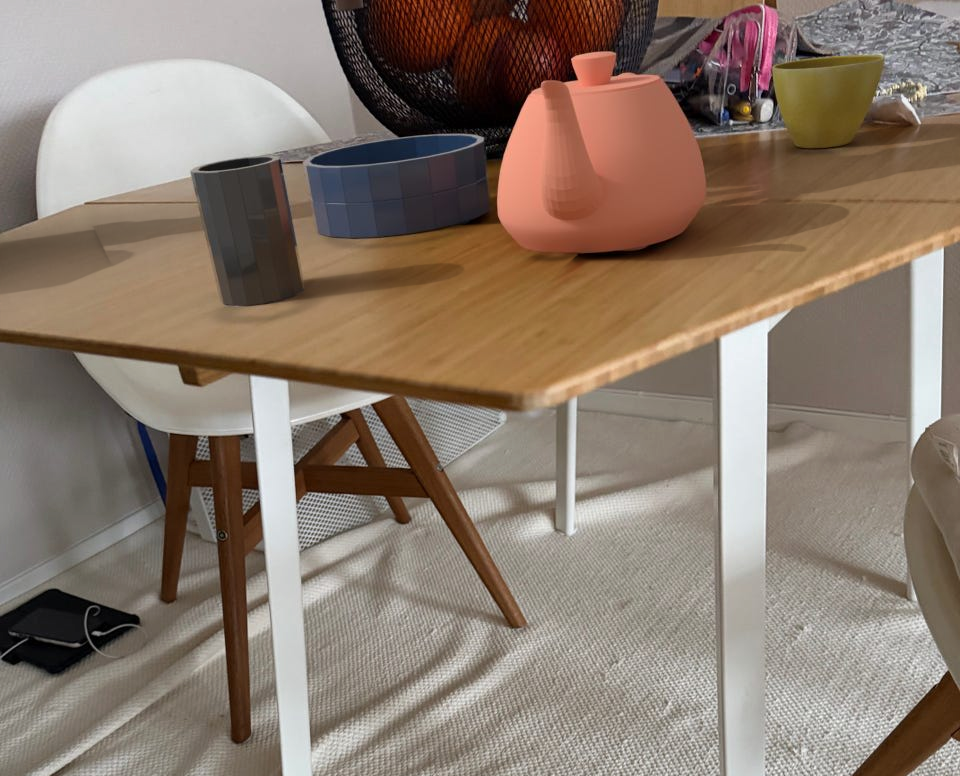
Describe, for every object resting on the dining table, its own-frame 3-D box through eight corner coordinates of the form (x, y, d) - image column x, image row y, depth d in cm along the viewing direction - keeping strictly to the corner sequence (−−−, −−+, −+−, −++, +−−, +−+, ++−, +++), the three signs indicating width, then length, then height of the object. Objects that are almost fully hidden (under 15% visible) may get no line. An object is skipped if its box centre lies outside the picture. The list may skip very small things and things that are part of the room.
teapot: (672, 278, 69) (668, 61, 63) (452, 284, 74) (428, 84, 68) (727, 205, 86) (728, 28, 80) (545, 213, 92) (533, 48, 85)
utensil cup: (206, 315, 75) (173, 174, 70) (250, 291, 79) (221, 158, 74) (280, 314, 73) (250, 169, 68) (320, 290, 77) (295, 153, 72)
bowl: (285, 248, 91) (270, 171, 88) (363, 209, 103) (353, 140, 100) (452, 242, 86) (442, 160, 83) (515, 202, 98) (508, 129, 95)
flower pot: (869, 131, 109) (875, 50, 105) (887, 147, 101) (894, 59, 97) (765, 141, 111) (768, 62, 107) (774, 157, 102) (777, 72, 99)
